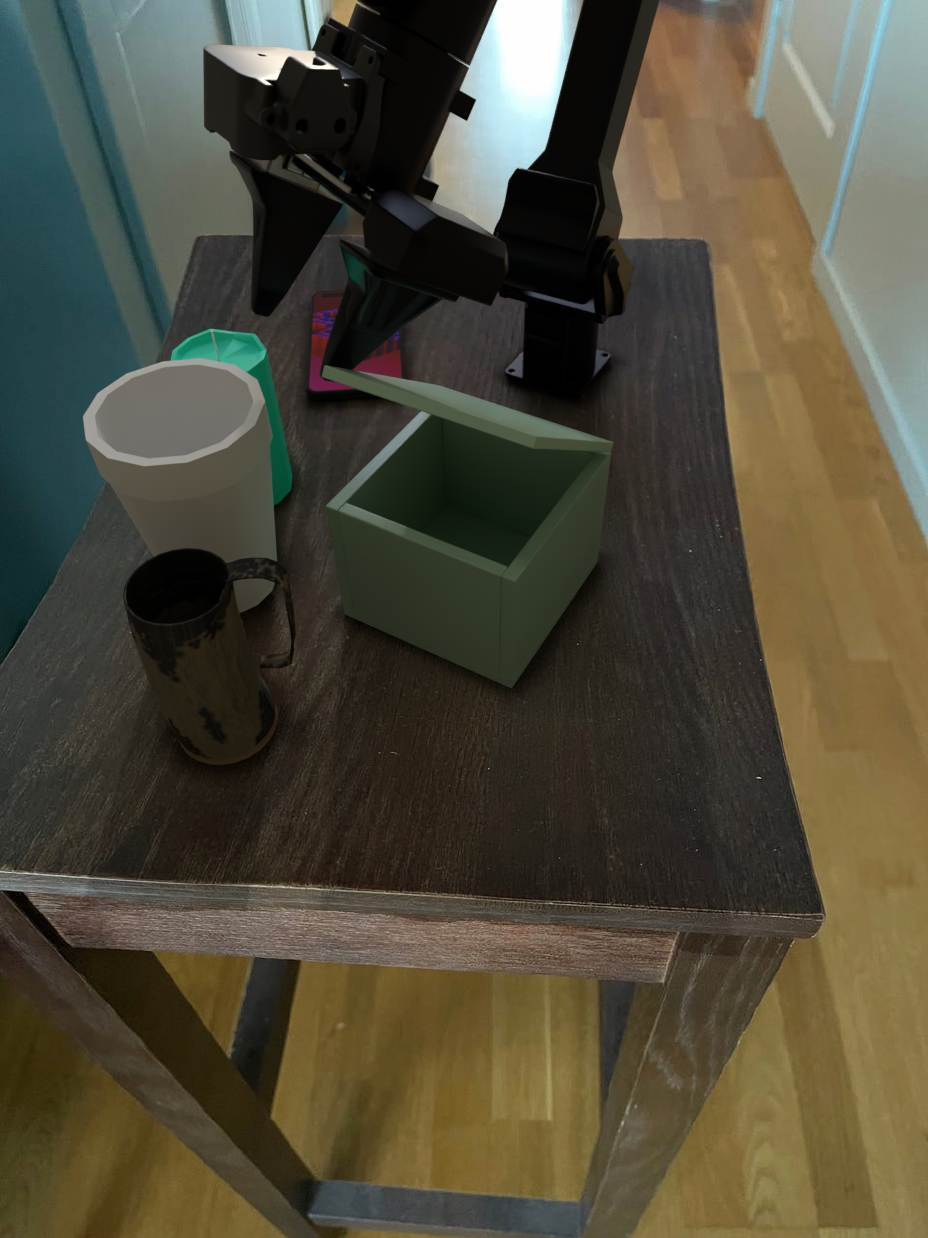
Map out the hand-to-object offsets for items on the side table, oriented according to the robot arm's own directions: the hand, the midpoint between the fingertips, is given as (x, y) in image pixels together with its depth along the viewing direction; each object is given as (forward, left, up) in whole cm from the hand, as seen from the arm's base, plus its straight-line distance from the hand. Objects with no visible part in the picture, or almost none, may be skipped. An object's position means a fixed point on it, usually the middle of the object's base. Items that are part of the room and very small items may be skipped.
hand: (292, 345), depth 49 cm
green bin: (-1, +10, -15) cm, 18 cm away
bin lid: (-2, +10, -2) cm, 11 cm away
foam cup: (+6, -4, -15) cm, 16 cm away
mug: (+14, +4, -15) cm, 21 cm away
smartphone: (-20, -12, -15) cm, 28 cm away
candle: (-2, -8, -15) cm, 17 cm away
